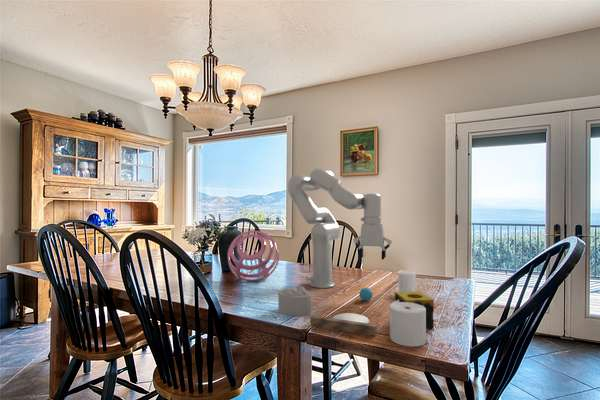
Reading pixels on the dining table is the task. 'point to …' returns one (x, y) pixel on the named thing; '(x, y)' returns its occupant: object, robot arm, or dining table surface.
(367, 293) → the ball
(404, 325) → the toilet tissue
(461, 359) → the dining table surface
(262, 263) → the spiral basket
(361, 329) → the stopper rail
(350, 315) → the disc
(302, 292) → the lumpy-topped squat cylinder
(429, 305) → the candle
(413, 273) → the white cup
